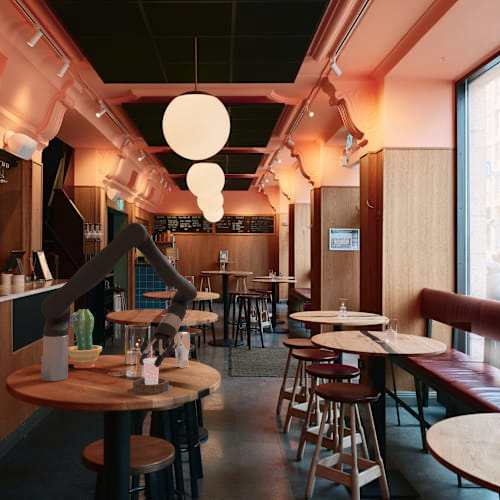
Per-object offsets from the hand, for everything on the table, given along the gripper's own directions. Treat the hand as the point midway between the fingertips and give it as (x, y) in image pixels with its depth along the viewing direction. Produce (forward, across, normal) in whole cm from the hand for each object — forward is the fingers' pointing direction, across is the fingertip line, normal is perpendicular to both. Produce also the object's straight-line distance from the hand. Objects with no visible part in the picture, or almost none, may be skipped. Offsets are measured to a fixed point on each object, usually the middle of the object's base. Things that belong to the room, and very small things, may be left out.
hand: (148, 364), depth 189 cm
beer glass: (-22, -14, +36) cm, 44 cm away
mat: (+6, 0, +8) cm, 10 cm away
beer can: (-17, -36, +32) cm, 51 cm away
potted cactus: (-8, -52, +22) cm, 57 cm away
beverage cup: (+4, 0, +6) cm, 8 cm away
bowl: (+5, 0, +8) cm, 9 cm away
